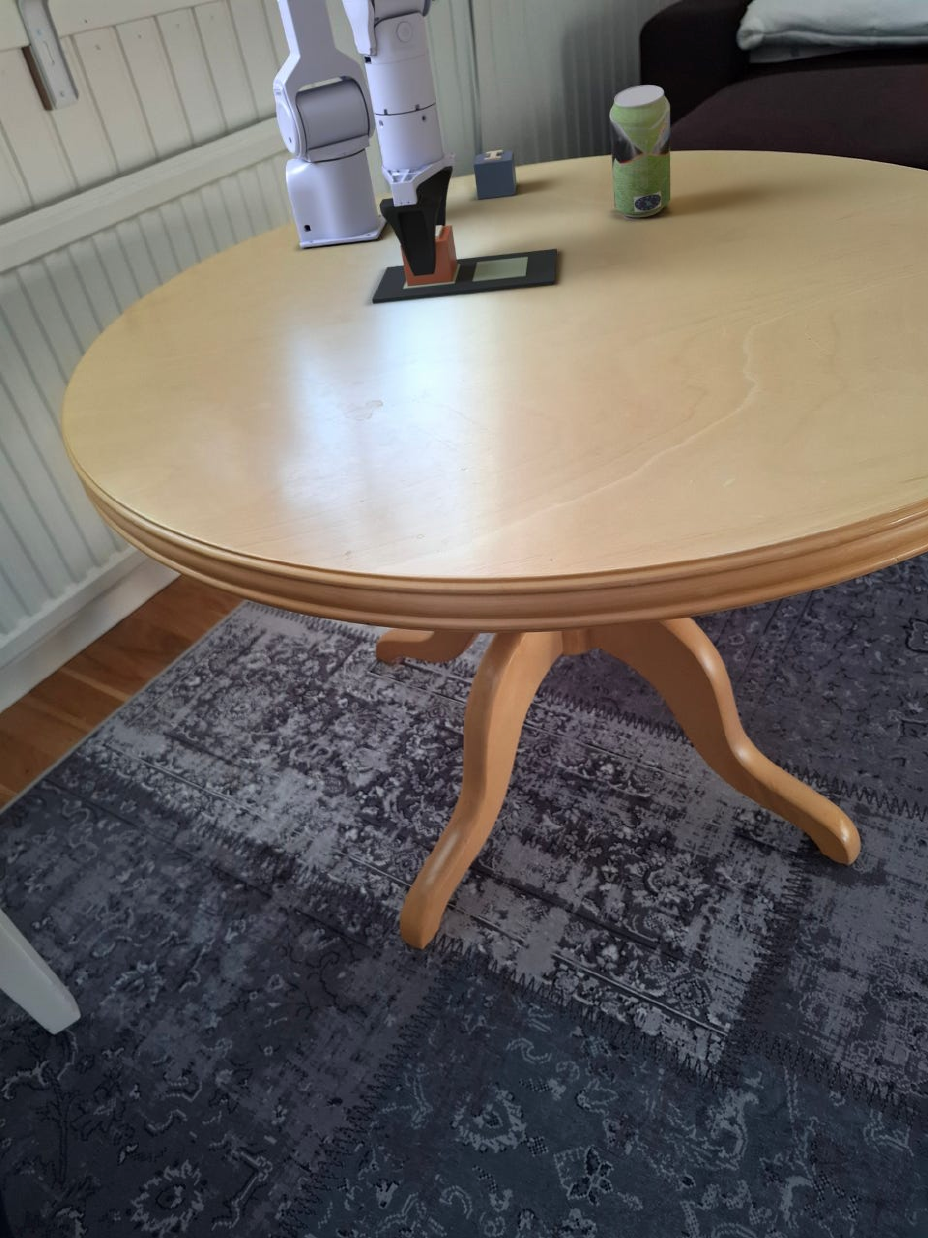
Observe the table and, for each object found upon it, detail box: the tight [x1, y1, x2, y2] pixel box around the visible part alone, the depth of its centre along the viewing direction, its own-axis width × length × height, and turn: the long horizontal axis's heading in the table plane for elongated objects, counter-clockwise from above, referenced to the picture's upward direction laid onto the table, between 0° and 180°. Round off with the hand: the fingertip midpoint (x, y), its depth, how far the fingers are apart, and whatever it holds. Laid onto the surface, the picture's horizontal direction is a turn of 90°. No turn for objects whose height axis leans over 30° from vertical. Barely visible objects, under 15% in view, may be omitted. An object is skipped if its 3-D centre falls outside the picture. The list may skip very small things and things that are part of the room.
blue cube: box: [473, 149, 518, 200], centre depth 110 cm, size 5×5×4 cm
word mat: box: [371, 248, 558, 304], centre depth 89 cm, size 18×9×1 cm, turn 84°
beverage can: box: [608, 84, 671, 219], centre depth 93 cm, size 6×7×12 cm
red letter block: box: [400, 224, 458, 286], centre depth 88 cm, size 5×5×4 cm
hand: (429, 259), depth 89 cm, fingers open, 7 cm apart
